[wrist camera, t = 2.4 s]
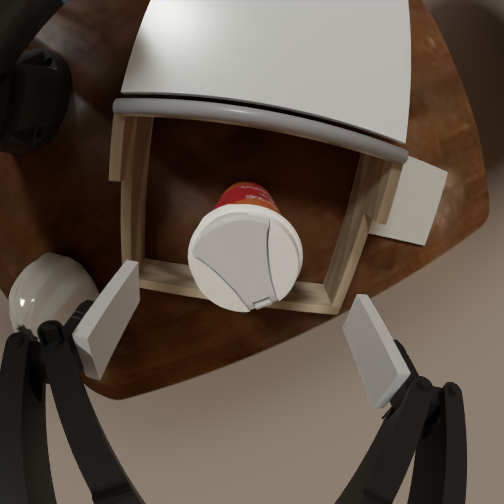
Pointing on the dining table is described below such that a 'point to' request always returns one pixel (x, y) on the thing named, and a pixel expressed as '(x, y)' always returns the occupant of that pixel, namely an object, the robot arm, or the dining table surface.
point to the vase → (48, 293)
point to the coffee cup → (245, 250)
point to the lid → (279, 66)
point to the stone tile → (413, 203)
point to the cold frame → (179, 275)
